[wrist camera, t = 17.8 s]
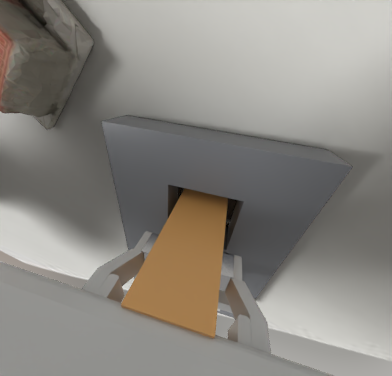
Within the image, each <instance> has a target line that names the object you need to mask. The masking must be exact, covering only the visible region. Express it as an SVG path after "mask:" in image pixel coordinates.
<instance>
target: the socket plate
mask: <svg viewBox="0 0 392 376" xmlns="http://www.w3.org/2000/svg"><path fill="white" fill-rule="evenodd" d="M101 122H102V127H103V132H104V136H105V141H106V146H107V151H108V155H109V160H110V165H111V170H112V174H113V179H114V184H115V189H116V193H117V198H118V203H119V208H120V212H121V217H122V222H123V226H124V231H125V236H126V241H127V245H128V250H130V249H134V248H135V246H136V245H137V243H138V242H139V240H140V239H141V237H142V236H143V234H144V233H145V232H146V231H148V232H152V233H155V234H160V232H161V230H162V229H163V227H164V225H165V223H166V221H167V219H168V218H169V216H170V214H171V212H172V210H173V209H174V207H175V205H176V203H177V201H178V192H179V187H181V188H186V189H190V190H195V191H199V192H203V193H208V194H212V195H217V196H221V197H226V198H230V199H234V200H237V202H236V205H235V208H234V211H233V214H232V217H231V220H230V224H229V227H225V236H224V247H223V252H226V253H230V254H234V255H237V256H241V258H242V281H244V282H245V283H246V285H247V287H248V289H249V290H250V292H251V294H252V296H253V298H254V299H256V297H257V296H258V295H259V293H260V292H261V290H262V289H263V288H264V286H265V285H266V284H267V282H268V281H269V280H270V278H271V277H272V276H273V274H274V273H275V272H276V270H277V269H278V267H279V266H280V265H281V263H282V262H283V261H284V259H285V258H286V257H287V255H288V254H289V253H290V251H291V250H292V249H293V247H294V246H295V244H296V243H297V242H298V240H299V239H300V238H301V236H302V235H303V234H304V232H305V231H306V230H307V228H308V227H309V226H310V224H311V223H312V221H313V220H314V219H315V217H316V216H317V215H318V213H319V212H320V211H321V209H322V208H323V207H324V205H325V204H326V203H327V201H328V200H329V198H330V197H331V196H332V194H333V193H334V192H335V190H336V189H337V188H338V186H339V185H340V184H341V182H342V181H343V179H344V178H345V177H346V175H347V174H348V173H349V171H350V170H351V169H352V166H351V165H350V164H348V163H347V162H345V161H344V160H342V159H341V158H339V157H338V156H336V155H335V154H333V153H332V152H330V151H329V150H326V149H320V148H314V147H309V146H303V145H297V144H291V143H285V142H279V141H274V140H268V139H262V138H256V137H250V136H244V135H239V134H233V133H227V132H221V131H215V130H209V129H204V128H198V127H192V126H186V125H180V124H175V123H169V122H163V121H157V120H151V119H145V118H140V117H134V116H128V115H126V116H122V117H117V118H113V119H109V120H104V121H101ZM134 279H135V278H134ZM217 312H218V313H221V314H224V315H227V316H230V317H233V318H234V316H233V313H230V312H227V311H223V310H220V311H217Z"/></svg>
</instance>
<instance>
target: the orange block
mask: <svg viewBox="0 0 392 376" xmlns="http://www.w3.org/2000/svg"><path fill="white" fill-rule="evenodd" d="M227 205H228V198H226V197H221V196H217V195H212V194H208V193H203V192H199V191H195V190H190V189H186V188H184V190H183V192H182V194H181V196H180V198H179V199H178V201H177V203H176V205H175V207H174V209H173V210H172V212H171V214H170V216H169V218H168V219H167V221H166V223H165V225H164V227H163V229H162V230H161V232H160V234H159V236H158V238H157V240H156V241H155V243H154V245H153V247H152V249H151V251H150V252H149V254H148V256H147V258H146V260H145V261H144V263H143V265H142V267H141V269H140V271H139V272H138V274H137V276H136V278H135V280H134V282H133V283H132V285H131V287H130V289H129V291H128V293H127V294H126V296H125V298H124V300H123V302H122V303H121V306H122V307H123V308H126V309H129V310H132V311H135V312H138V313H141V314H144V315H147V316H149V317H152V318H155V319H158V320H161V321H164V322H167V323H170V324H173V325H176V326H178V327H181V328H184V329H187V330H190V331H193V332H196V333H199V334H202V335H204V336H207V337H210V338H213V339H214V338H215V330H216V319H217V310H218V299H219V289H220V278H221V268H222V257H223V247H224V236H225V226H226V215H227Z"/></svg>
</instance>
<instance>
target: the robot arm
mask: <svg viewBox="0 0 392 376" xmlns="http://www.w3.org/2000/svg"><path fill="white" fill-rule="evenodd" d="M158 236H159V234H155V233H152V232H148V231H146V232H145V233H144V234H143V236H142V237H141V239H140V240H139V242H138V243H137V245H136V246H135V248H134V249H130V250H129V251H127V252H125V253H123V254H122V255H120V256H118V257H116V258H115V259H113V260H111V261H109V262H108V263H106V264H104V265H102V266H101V267H99V268H98V269H97V270H96V271H95V272H94V274H93V275H92V276H91V277H90V279H89V280H88V281H87V283H86V284H85V285H84V286H83V288H82V289H80V288H77V287H74V286H71V285H68V284H65V283H62V282H59V281H57V280H54V279H50V278H48V277H45V276H42V275H38V274H36V273H33V272H30V271H27V270H24V269H21V268H18V267H15V266H12V265H10V264H7V263H4V262H1V261H0V376H334V375H331V374H328V373H325V372H322V371H319V370H316V369H313V368H310V367H308V366H305V365H302V364H299V363H296V362H293V361H290V360H287V359H284V358H281V357H278V356H275V355H273V354H271V349H270V341H269V333H268V325H267V321H266V319H265V317H264V316H263V314H262V312H261V310H260V308H259V307H258V305H257V303H256V301H255V299H254V298H253V296H252V294H251V292H250V290H249V289H248V287H247V285H246V283H245V282H244V281H242V258H241V256H237V255H234V254H230V253H226V252H223V257H222V268H221V278H220V289H219V290H222V291H225V294H226V297H227V300H228V302H229V305H230V308H231V310H232V313H233V316H234V318H235V321H234V323H233V324H232V326H231V327H230V329H229V330H228V339H226V338H223V337H220V336H217V335H215V338H214V339H213V338H210V337H207V336H204V335H202V334H199V333H196V332H193V331H190V330H187V329H184V328H181V327H178V326H176V325H173V324H170V323H167V322H164V321H161V320H158V319H155V318H152V317H149V316H147V315H144V314H141V313H138V312H135V311H132V310H129V309H126V308H123V307H122V306H121V301H122V299H123V297H124V292H123V289H122V286H123V285H124V284H125V283H127V282H128V281H129V280H130V279H132V278H133V277H134V276H135V275H136V274H138V272H139V271H140V269H141V267H142V265H143V263H144V261H145V260H146V258H147V256H148V254H149V252H150V251H151V249H152V247H153V245H154V243H155V241H156V240H157V238H158Z"/></svg>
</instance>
